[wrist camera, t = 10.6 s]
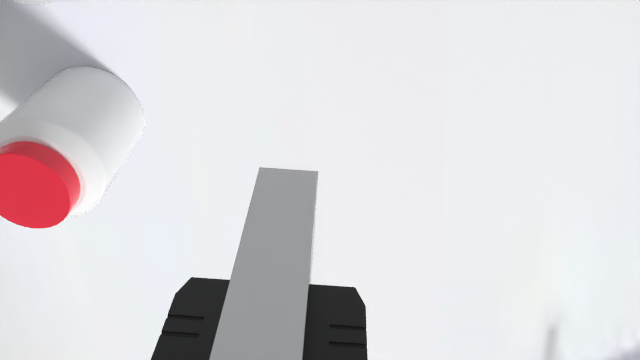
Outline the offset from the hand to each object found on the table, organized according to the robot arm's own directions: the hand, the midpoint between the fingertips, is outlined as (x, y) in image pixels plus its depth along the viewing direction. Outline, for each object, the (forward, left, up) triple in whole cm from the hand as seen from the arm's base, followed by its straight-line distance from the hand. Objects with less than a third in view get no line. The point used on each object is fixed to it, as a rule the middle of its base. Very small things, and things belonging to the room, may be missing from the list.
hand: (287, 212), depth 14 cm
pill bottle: (+10, -17, -26) cm, 33 cm away
